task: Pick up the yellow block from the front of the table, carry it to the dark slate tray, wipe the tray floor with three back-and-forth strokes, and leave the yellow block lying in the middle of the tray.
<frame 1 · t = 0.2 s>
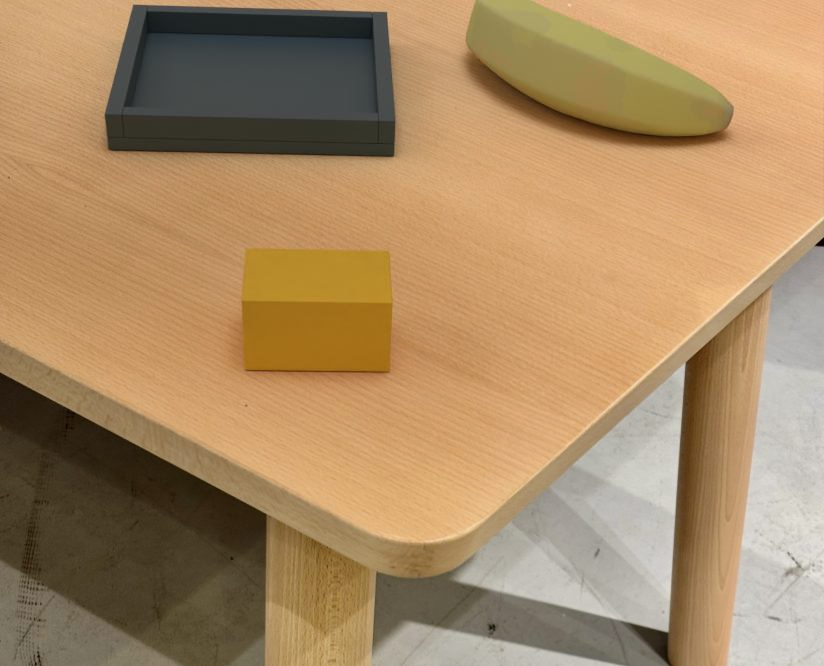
yellow block: (317, 343, 68), on the table
banana: (575, 84, 92), on the table
tray: (257, 93, 88), on the table
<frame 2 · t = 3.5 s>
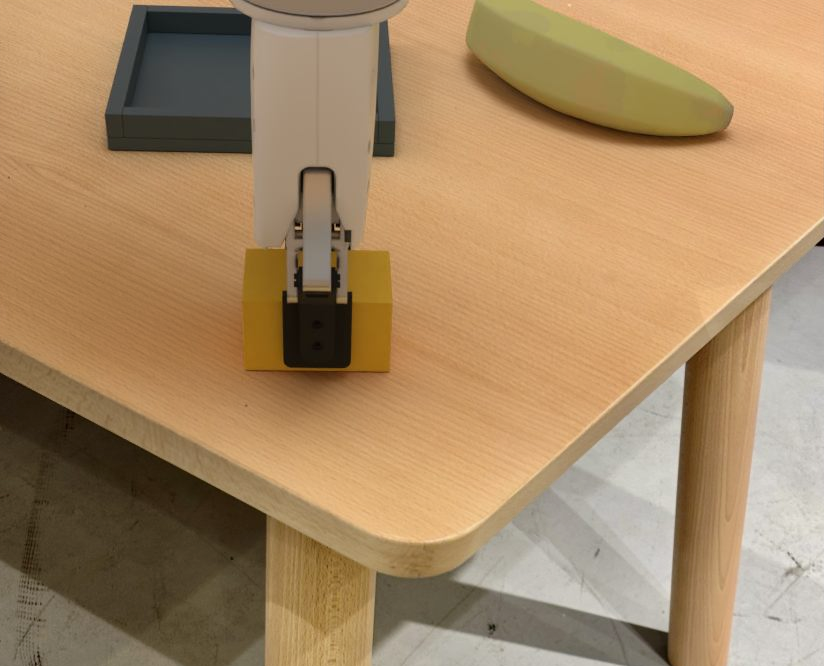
hand: (317, 329, 68), 1 cm above the table, tool pointing down, fingers closed on yellow block, 4 cm apart
yellow block: (317, 343, 68), on the table, touching gripper
everything else where it was.
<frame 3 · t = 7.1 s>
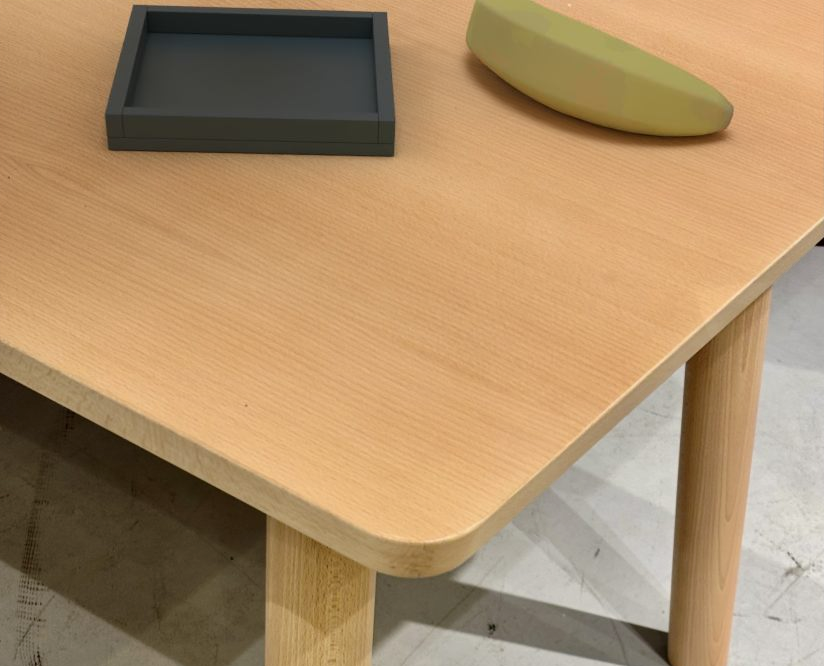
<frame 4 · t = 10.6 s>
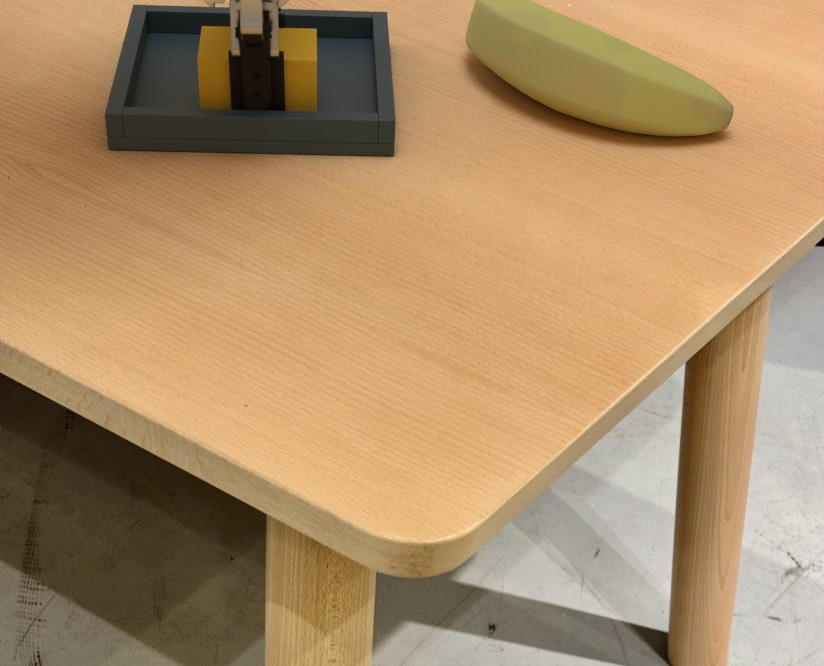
hand: (259, 93, 85), 2 cm above the table, tool pointing down, fingers closed on yellow block, 4 cm apart
yellow block: (260, 105, 86), point 1 cm above the table, touching gripper, tray
everything else where it was.
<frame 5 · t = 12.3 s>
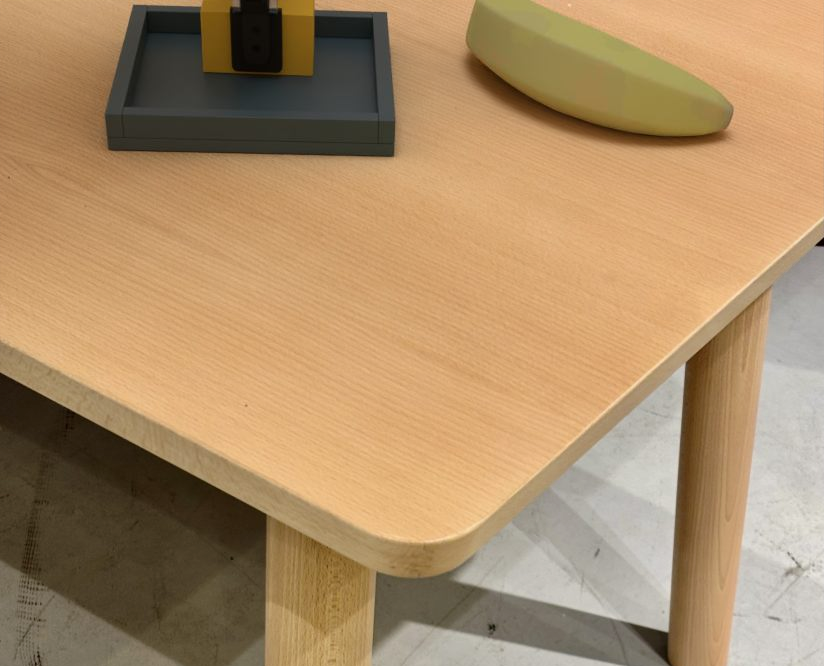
hand: (259, 49, 90), 1 cm above the table, tool pointing down, fingers closed on yellow block, 4 cm apart
yellow block: (259, 59, 90), point 1 cm above the table, touching gripper, tray
everything else where it was.
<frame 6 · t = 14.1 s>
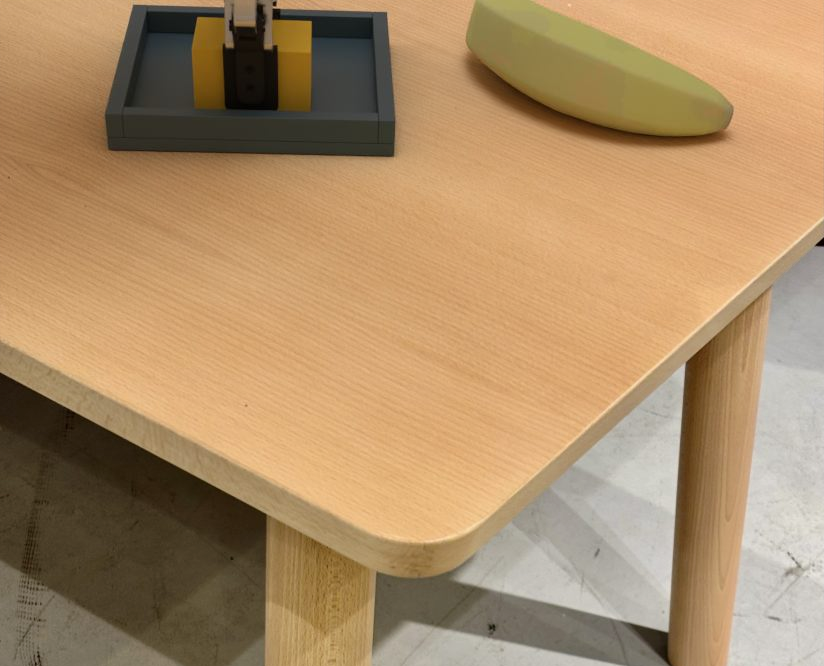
hand: (253, 87, 86), 2 cm above the table, tool pointing down, fingers closed on yellow block, 4 cm apart
yellow block: (254, 96, 86), point 1 cm above the table, touching gripper
everything else where it was.
when the fingers open (1 cm above the table, at t = 15.4 s): yellow block stays where it is, resting on tray.
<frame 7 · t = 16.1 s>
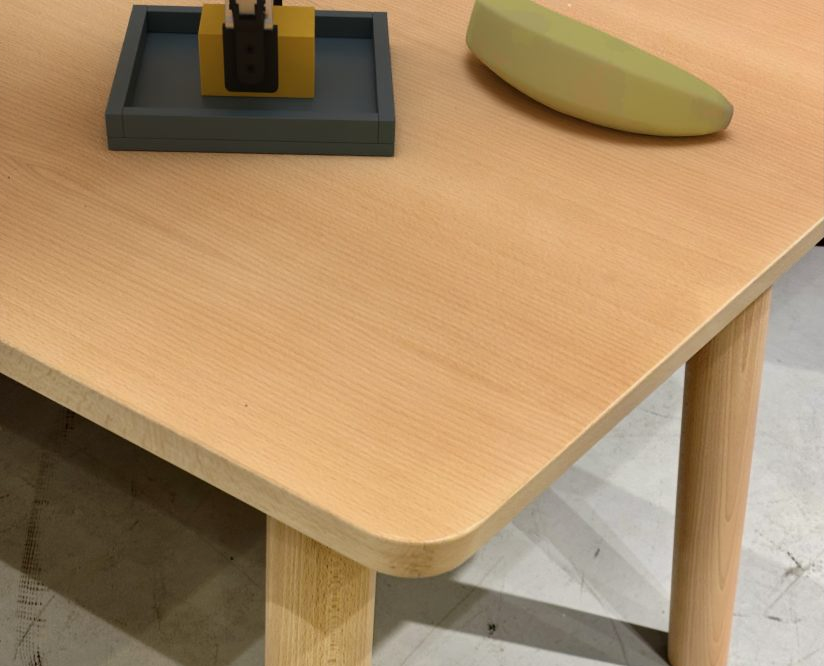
hand: (255, 55, 87), 3 cm above the table, tool pointing down, fingers open, 9 cm apart
yellow block: (259, 81, 88), point 1 cm above the table, touching tray
everything else where it was.
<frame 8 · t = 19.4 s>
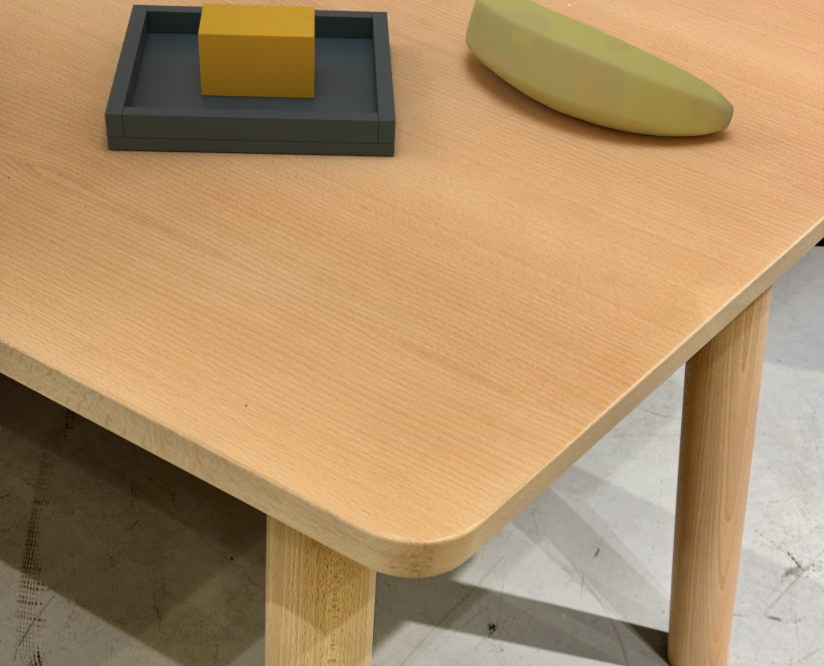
nothing on the table moved.
at the end: yellow block inside the target area in the tray (0.2 cm from its centre), point 0.8 cm above the tray's base; yellow block moved 27.9 cm from its start; the gripper is holding nothing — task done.
